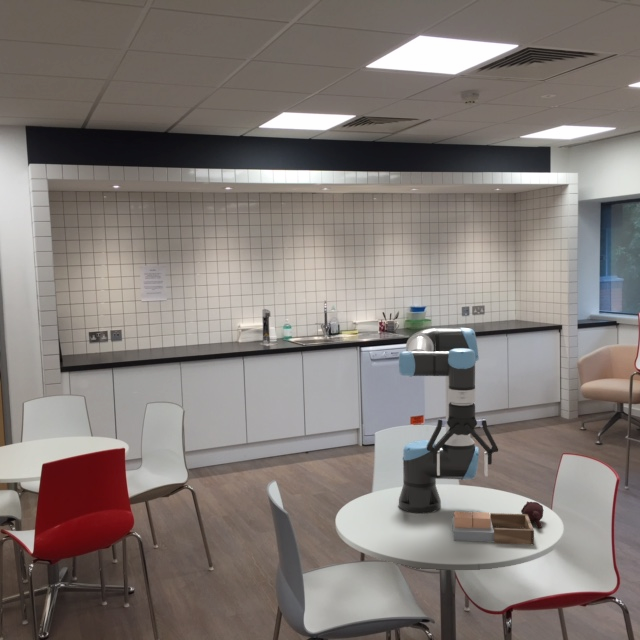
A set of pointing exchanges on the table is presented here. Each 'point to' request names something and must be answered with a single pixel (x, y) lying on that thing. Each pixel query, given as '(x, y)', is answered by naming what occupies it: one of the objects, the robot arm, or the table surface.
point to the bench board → (473, 533)
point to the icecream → (533, 512)
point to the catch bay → (512, 535)
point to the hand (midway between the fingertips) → (462, 474)
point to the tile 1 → (463, 519)
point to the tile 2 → (481, 520)
